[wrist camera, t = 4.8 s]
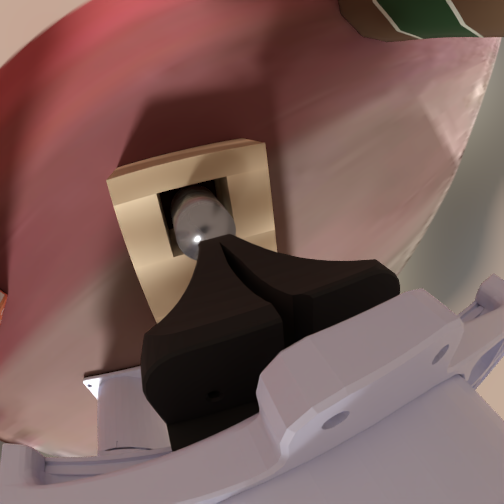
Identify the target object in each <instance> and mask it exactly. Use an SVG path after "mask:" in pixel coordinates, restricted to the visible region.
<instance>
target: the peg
mask: <svg viewBox="0 0 504 504" xmlns="http://www.w3.org/2000/svg"><path fill="white" fill-rule="evenodd" d="M170 210H171V216H172V221H173V226H174V230H175V235H176V240H177V243H178V246H179V248H180V250H181V251H182V252H183V253H184V254H185V255H186V256H187V257H189V258H191V259H193V260H196V261H197V258H198V252H199V247H198V244H199V242H200V241H204V240H208V239H211V238H215V237H219V236H222V235H226V234H232V235H234V236H235V235H236V226H235V222H234V220H233V218H232V216H231V215H230V214H229V212H228V211H227V210H226V209H225V208H224V206H223V205H222V204H221V203H220V202H219V200H218V199H217V198H216V197H215V195H214V194H213V193H212V192H211V191H210V190H209V189H208V188H206V187H204V186H201V185H189V186H186V187H184V188H182V189H180V190H179V191H178V192H177V193H176V194H175V196H174V197H173V199H172V202H171V207H170Z"/></svg>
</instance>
